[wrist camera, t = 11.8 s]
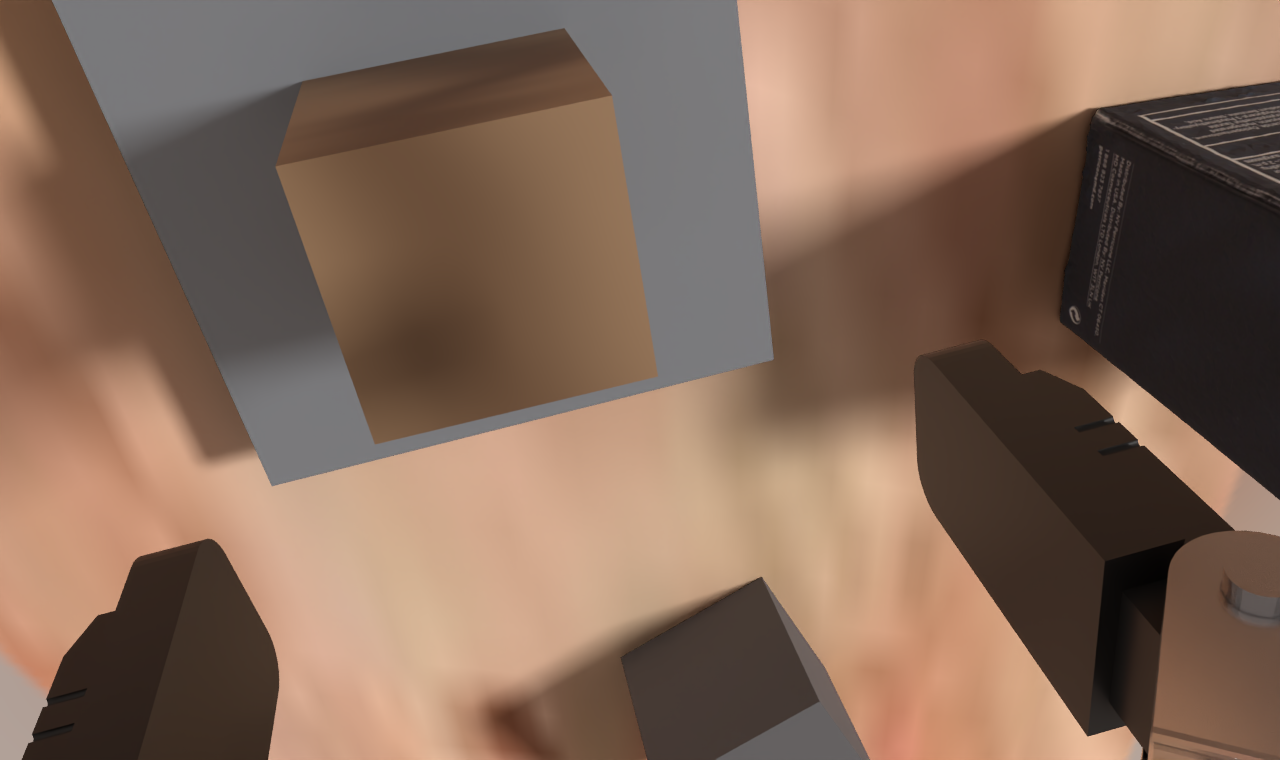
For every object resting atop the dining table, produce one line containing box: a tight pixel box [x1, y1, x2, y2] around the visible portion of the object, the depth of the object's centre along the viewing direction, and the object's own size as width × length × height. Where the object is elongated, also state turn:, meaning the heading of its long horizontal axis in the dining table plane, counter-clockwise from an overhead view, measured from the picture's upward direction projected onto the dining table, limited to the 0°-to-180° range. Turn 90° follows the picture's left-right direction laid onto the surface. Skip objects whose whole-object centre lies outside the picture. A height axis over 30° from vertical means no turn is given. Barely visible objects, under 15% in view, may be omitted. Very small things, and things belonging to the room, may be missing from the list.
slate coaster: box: [52, 0, 774, 486], centre depth 21 cm, size 12×12×2 cm
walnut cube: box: [275, 28, 658, 445], centre depth 18 cm, size 5×5×5 cm
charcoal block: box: [621, 577, 870, 760], centre depth 30 cm, size 5×5×5 cm
